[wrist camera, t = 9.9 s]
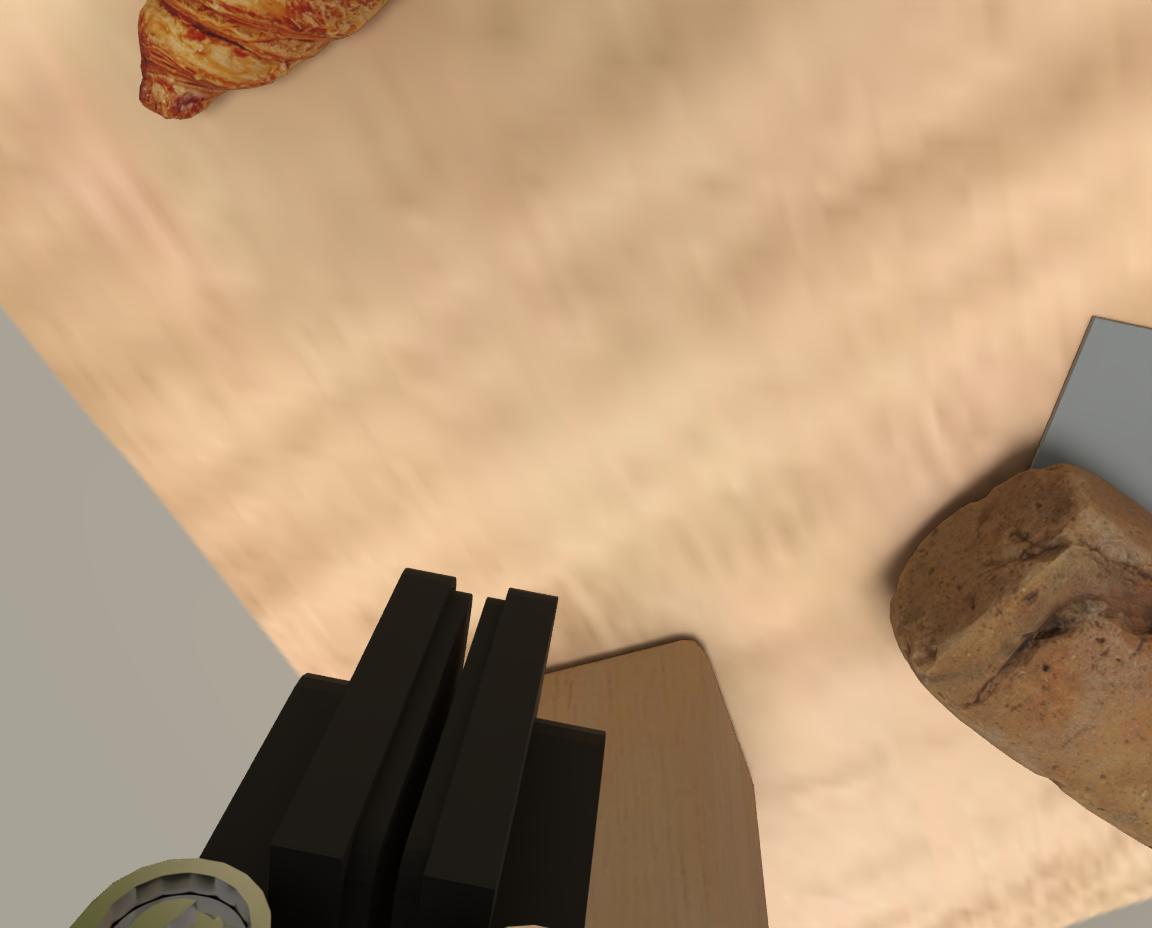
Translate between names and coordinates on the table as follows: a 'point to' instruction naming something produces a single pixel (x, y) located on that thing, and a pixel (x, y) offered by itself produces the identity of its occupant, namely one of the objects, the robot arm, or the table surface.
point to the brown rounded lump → (1044, 633)
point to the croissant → (232, 45)
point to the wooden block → (665, 792)
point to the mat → (1106, 410)
